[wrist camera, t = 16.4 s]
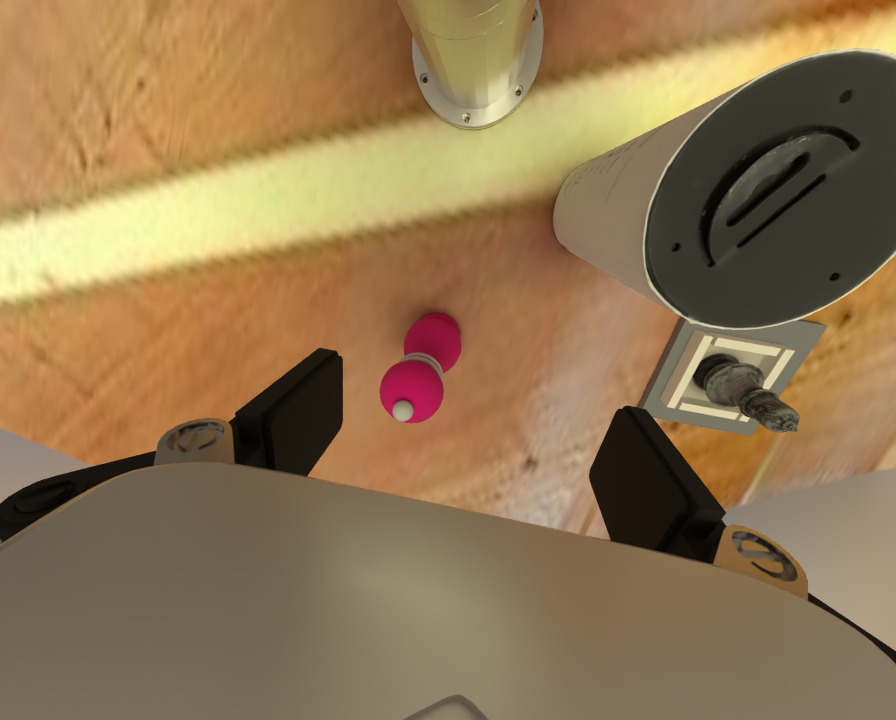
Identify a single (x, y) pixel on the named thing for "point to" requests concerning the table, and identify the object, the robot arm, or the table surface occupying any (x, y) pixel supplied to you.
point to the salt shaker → (743, 391)
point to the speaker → (750, 196)
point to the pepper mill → (421, 369)
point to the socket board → (691, 343)
